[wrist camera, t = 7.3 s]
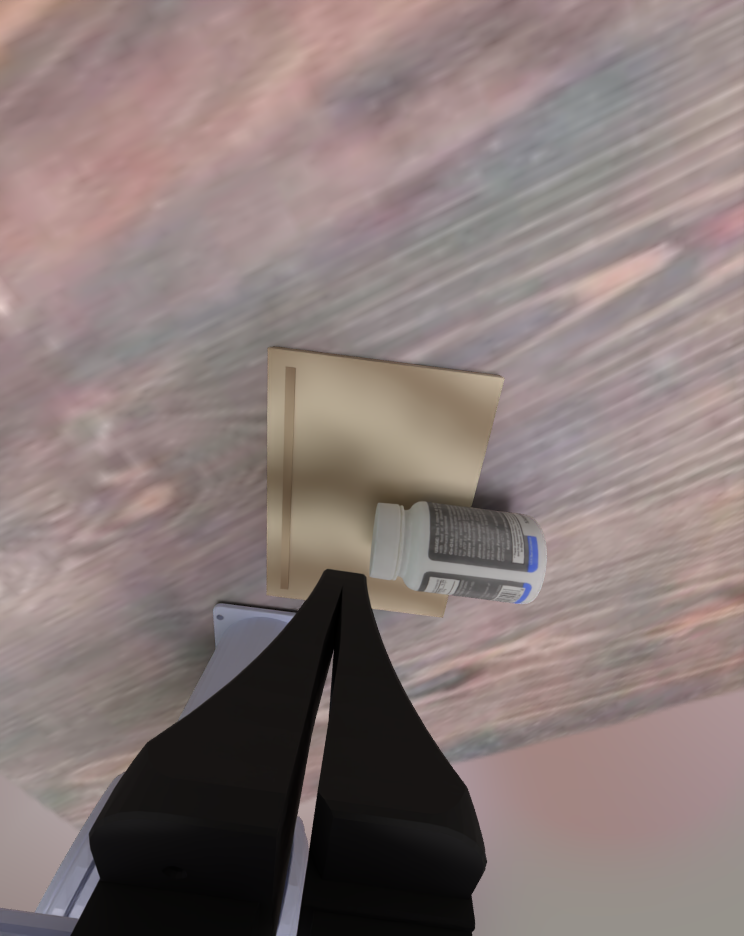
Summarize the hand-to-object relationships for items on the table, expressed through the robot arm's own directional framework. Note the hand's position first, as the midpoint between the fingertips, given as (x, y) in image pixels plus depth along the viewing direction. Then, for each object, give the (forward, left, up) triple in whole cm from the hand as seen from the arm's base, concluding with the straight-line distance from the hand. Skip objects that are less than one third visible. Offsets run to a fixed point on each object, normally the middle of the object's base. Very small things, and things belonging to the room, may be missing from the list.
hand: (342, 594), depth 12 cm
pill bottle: (-2, -10, -7) cm, 12 cm away
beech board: (-1, -1, -10) cm, 11 cm away
